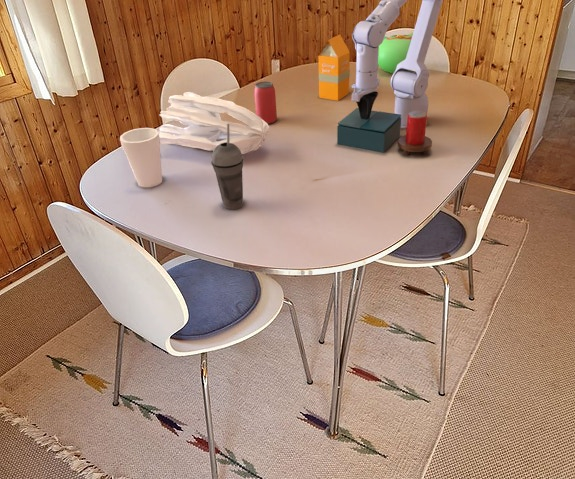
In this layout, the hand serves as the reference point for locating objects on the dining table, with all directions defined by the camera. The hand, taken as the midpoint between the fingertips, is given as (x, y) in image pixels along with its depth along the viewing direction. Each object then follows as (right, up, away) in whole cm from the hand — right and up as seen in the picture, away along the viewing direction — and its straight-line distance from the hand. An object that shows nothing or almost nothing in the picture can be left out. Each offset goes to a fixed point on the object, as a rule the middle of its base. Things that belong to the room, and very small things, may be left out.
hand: (364, 118), depth 140 cm
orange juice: (-5, +17, +37) cm, 41 cm away
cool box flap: (-2, 0, +1) cm, 2 cm away
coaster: (+13, -11, -5) cm, 17 cm away
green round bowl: (+22, +32, +56) cm, 68 cm away
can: (+12, -8, -7) cm, 16 cm away
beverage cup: (-35, -26, -22) cm, 49 cm away
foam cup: (-58, -19, -10) cm, 62 cm away
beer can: (-29, +4, +20) cm, 35 cm away
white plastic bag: (-44, -8, +4) cm, 45 cm away
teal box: (+2, -6, +3) cm, 7 cm away
